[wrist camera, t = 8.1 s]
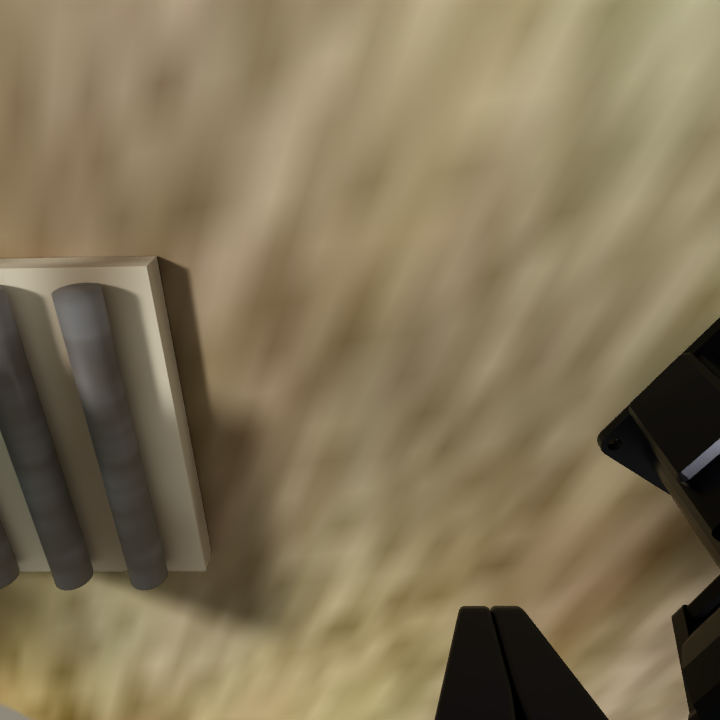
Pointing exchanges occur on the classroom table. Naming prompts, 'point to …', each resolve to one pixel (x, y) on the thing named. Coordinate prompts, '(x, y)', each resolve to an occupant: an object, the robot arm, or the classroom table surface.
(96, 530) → the roller track
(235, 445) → the classroom table surface
